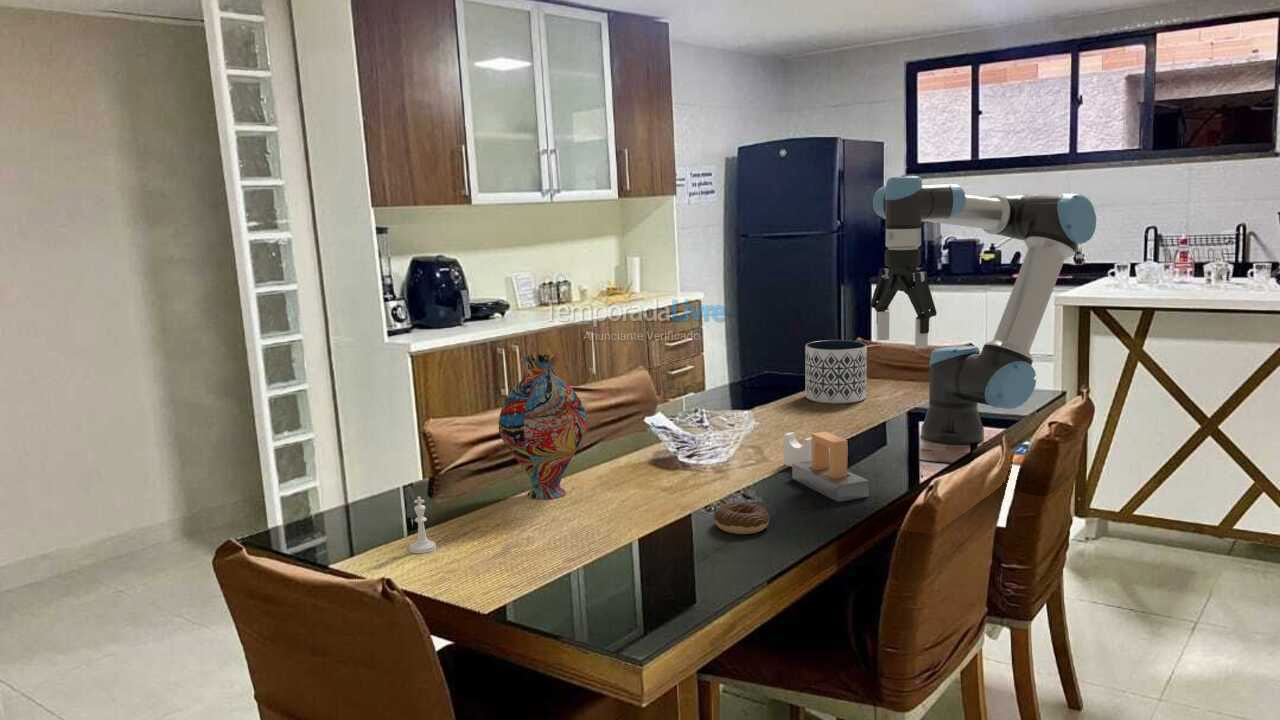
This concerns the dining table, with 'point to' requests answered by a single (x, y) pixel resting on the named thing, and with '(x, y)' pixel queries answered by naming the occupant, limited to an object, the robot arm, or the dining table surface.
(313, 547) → the dining table surface
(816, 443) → the clip
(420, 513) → the chess piece
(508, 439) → the vase
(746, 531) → the donut
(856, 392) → the planter
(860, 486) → the grey slotted block
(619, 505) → the dining table surface
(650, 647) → the dining table surface
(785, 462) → the bracket
